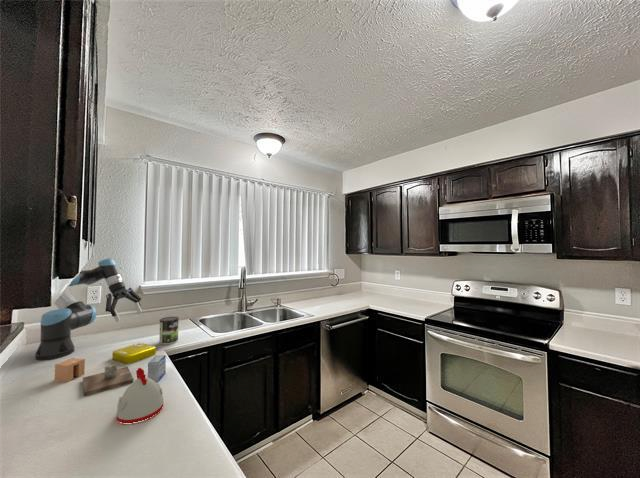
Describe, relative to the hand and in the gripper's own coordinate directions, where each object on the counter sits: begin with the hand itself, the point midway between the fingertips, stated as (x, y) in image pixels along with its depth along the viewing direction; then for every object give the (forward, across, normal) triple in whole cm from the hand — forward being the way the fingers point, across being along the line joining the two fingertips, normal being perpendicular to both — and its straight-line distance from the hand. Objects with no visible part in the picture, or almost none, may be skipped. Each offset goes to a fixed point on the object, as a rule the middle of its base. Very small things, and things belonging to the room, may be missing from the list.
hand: (129, 316), depth 158 cm
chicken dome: (+37, -48, -52) cm, 80 cm away
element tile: (+22, -12, -8) cm, 26 cm away
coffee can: (+24, +10, -7) cm, 27 cm away
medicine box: (+33, -27, -37) cm, 57 cm away
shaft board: (+24, -36, -22) cm, 49 cm away
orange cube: (+16, -38, -4) cm, 41 cm away
